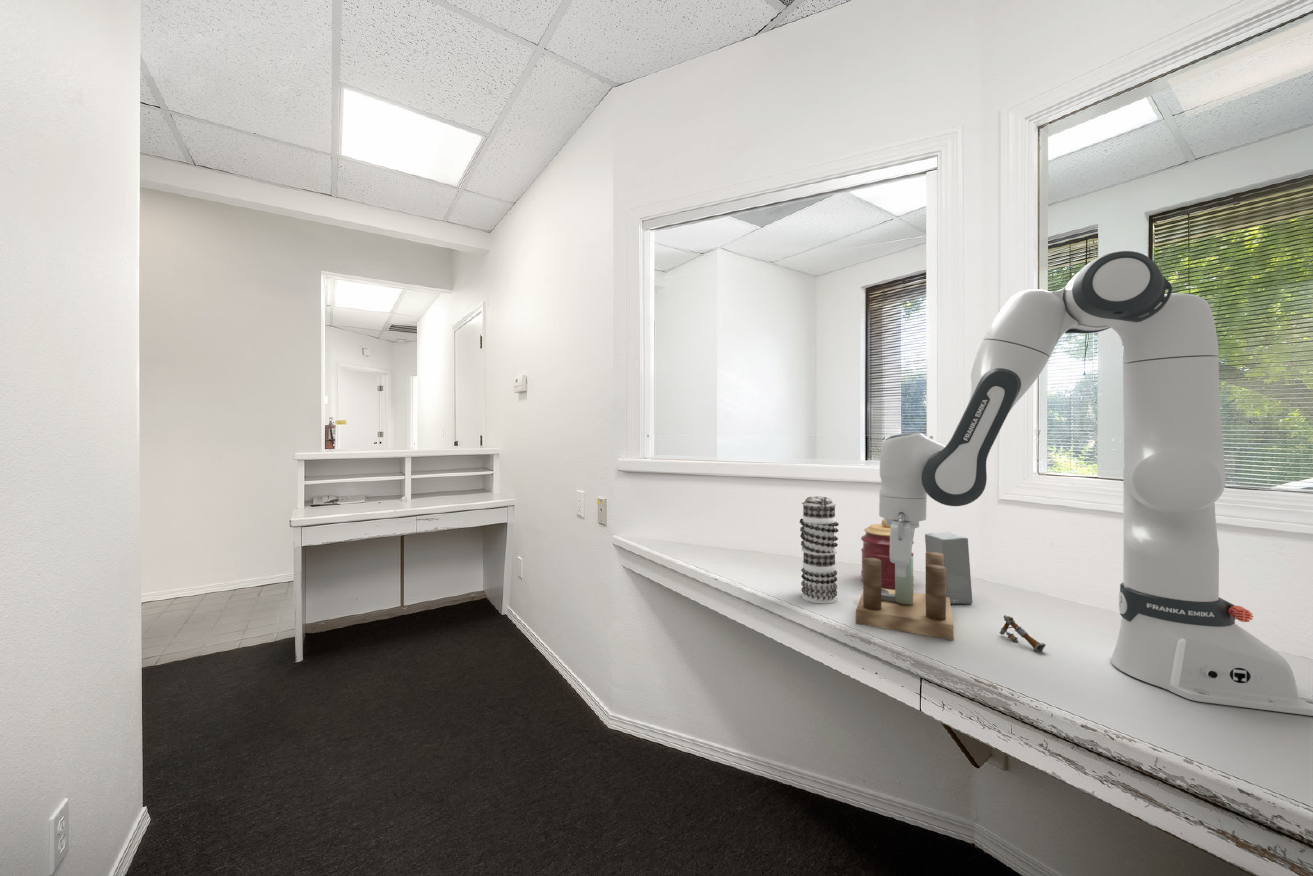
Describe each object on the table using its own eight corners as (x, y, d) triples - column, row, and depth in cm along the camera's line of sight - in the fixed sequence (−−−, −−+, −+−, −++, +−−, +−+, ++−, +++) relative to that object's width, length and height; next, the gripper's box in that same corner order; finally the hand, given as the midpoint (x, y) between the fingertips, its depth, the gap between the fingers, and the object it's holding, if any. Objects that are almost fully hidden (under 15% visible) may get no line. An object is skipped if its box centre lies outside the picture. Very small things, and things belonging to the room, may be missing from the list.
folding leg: (913, 600, 109) (913, 556, 109) (913, 605, 106) (913, 559, 106) (869, 594, 113) (869, 551, 113) (867, 598, 110) (867, 554, 110)
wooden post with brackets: (1000, 629, 99) (1009, 612, 97) (1036, 661, 92) (1046, 643, 90) (993, 630, 99) (1002, 613, 97) (1028, 662, 92) (1038, 644, 90)
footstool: (949, 610, 112) (949, 552, 112) (953, 640, 96) (953, 572, 96) (864, 598, 120) (864, 544, 120) (855, 623, 105) (855, 561, 104)
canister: (920, 592, 125) (919, 523, 124) (865, 588, 128) (865, 521, 127) (906, 577, 137) (906, 515, 137) (857, 574, 140) (857, 513, 140)
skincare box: (973, 604, 115) (973, 538, 115) (942, 604, 115) (942, 538, 115) (952, 593, 124) (952, 531, 124) (923, 593, 124) (923, 531, 124)
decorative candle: (825, 607, 114) (825, 501, 114) (792, 597, 122) (792, 497, 121) (846, 598, 120) (846, 498, 120) (813, 589, 127) (813, 494, 127)
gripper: (918, 519, 91) (918, 592, 91) (919, 504, 109) (919, 565, 109) (882, 516, 94) (881, 586, 94) (888, 502, 112) (888, 561, 112)
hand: (901, 575), depth 102 cm, fingers closed
